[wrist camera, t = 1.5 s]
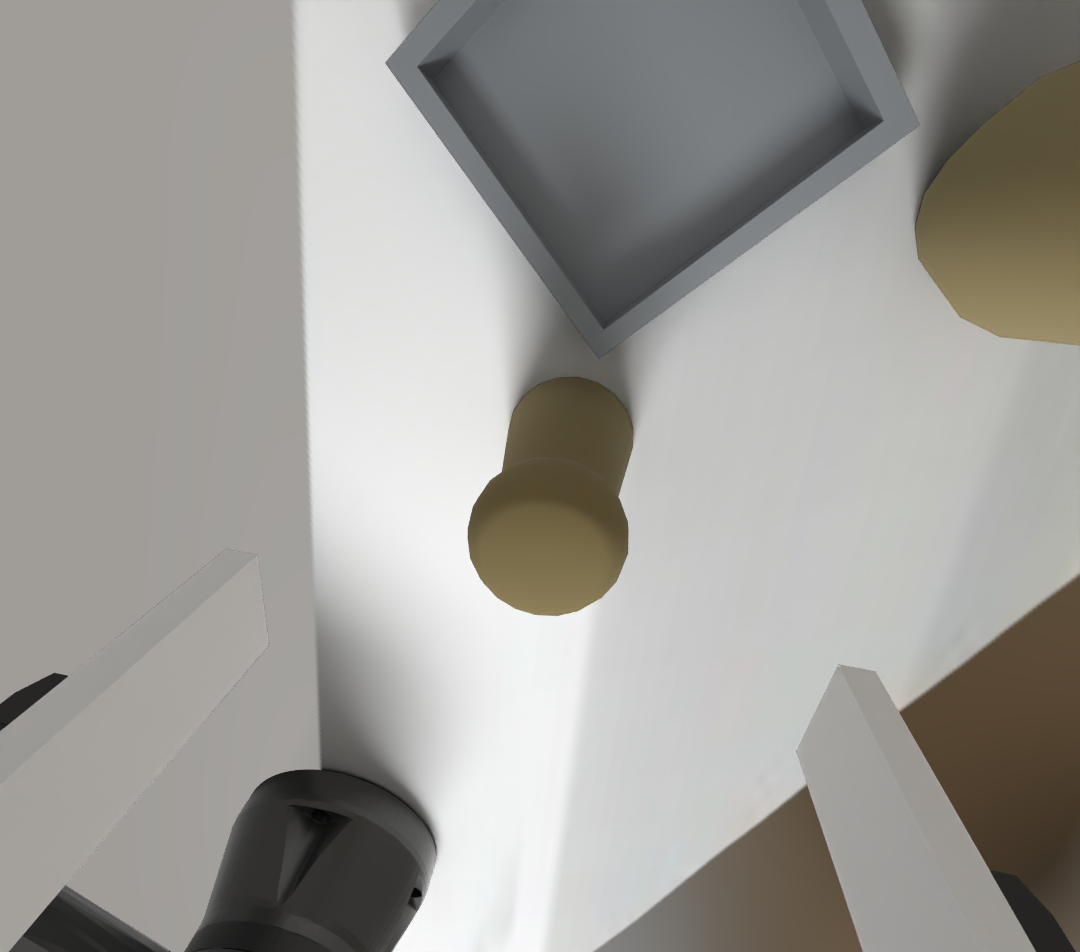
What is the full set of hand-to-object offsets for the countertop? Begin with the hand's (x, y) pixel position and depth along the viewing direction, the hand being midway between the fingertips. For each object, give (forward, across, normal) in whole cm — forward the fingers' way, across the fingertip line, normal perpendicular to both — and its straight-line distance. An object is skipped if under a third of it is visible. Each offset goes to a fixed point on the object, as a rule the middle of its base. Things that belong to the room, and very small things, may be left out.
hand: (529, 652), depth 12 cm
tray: (+15, 0, +13) cm, 20 cm away
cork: (+15, 0, 0) cm, 15 cm away
